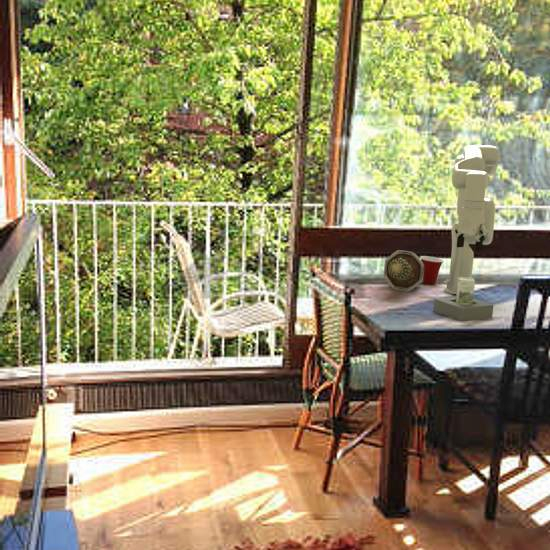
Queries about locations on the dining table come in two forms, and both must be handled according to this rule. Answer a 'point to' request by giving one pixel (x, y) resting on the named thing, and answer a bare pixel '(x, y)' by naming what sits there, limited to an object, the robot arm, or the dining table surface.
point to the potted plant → (403, 270)
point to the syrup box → (465, 290)
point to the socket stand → (463, 309)
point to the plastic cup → (431, 269)
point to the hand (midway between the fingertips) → (469, 249)
